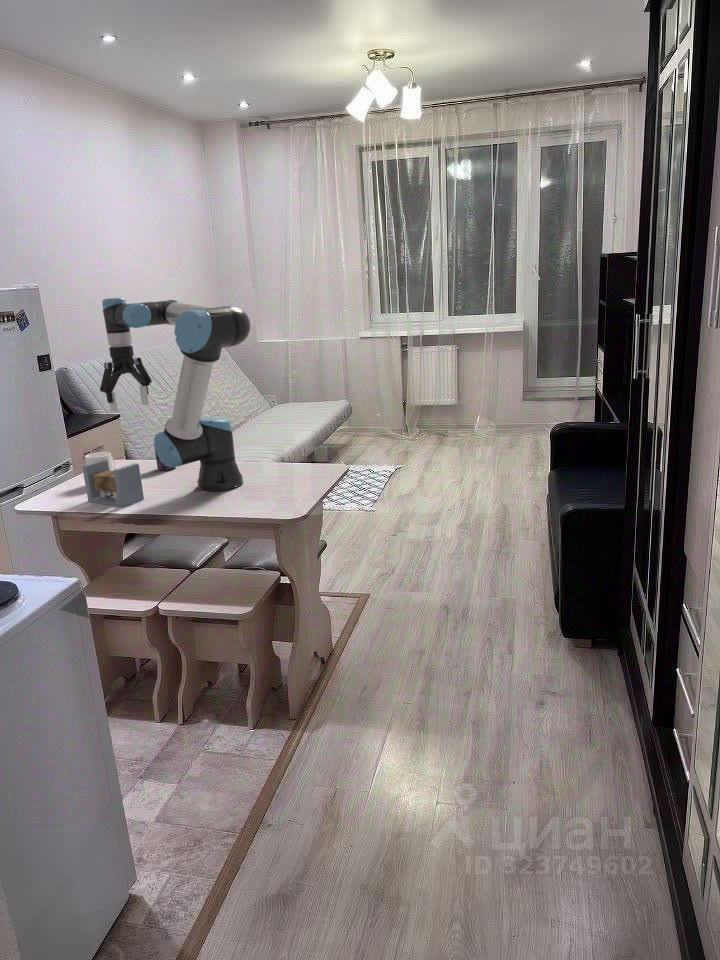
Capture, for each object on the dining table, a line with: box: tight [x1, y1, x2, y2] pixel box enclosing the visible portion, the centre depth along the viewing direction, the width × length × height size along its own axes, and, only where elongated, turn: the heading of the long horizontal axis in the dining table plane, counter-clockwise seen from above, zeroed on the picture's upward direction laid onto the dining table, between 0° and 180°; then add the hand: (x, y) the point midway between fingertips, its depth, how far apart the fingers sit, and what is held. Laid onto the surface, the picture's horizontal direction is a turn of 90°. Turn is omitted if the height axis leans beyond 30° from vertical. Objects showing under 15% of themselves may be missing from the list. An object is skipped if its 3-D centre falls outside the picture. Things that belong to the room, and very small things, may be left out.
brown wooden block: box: [93, 471, 117, 492], centre depth 232 cm, size 10×6×5 cm, turn 65°
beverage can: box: [154, 446, 176, 471], centre depth 268 cm, size 7×7×12 cm
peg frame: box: [81, 460, 145, 508], centre depth 232 cm, size 17×8×12 cm, turn 58°
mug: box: [84, 451, 116, 471], centre depth 255 cm, size 9×12×11 cm
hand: (130, 408), depth 245 cm, fingers open, 13 cm apart
